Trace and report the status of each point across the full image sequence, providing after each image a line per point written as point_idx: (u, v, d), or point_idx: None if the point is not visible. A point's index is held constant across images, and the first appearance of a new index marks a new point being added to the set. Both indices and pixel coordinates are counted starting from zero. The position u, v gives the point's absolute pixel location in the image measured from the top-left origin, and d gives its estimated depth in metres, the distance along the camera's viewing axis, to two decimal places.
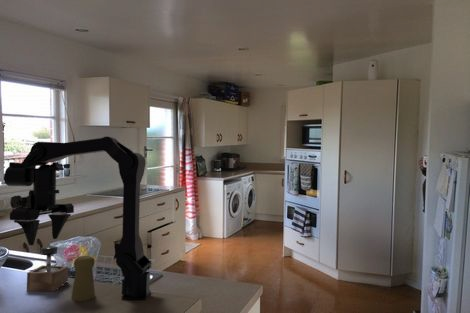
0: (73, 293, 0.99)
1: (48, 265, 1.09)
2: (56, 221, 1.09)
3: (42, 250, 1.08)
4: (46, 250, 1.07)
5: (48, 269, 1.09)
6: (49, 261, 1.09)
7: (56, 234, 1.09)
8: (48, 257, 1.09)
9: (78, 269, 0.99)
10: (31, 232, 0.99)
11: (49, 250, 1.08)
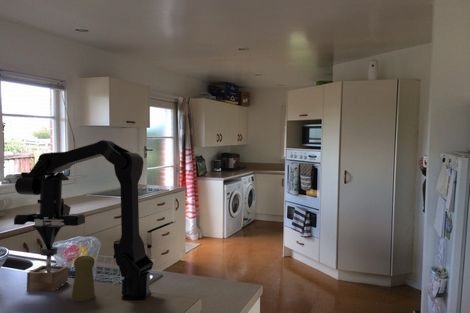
0: (73, 293, 0.99)
1: (48, 266, 1.09)
2: None
3: (42, 251, 1.08)
4: (46, 251, 1.07)
5: (48, 270, 1.09)
6: (49, 262, 1.09)
7: None
8: (48, 258, 1.09)
9: (78, 269, 0.99)
10: None
11: (49, 251, 1.08)
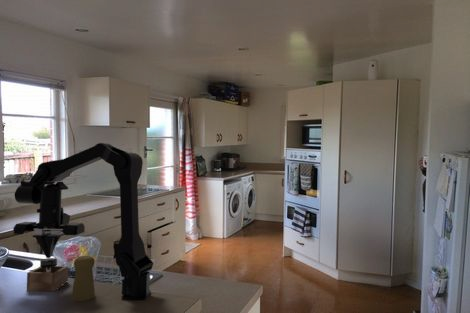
0: (73, 293, 0.99)
1: None
2: None
3: (42, 262, 1.07)
4: (46, 262, 1.07)
5: None
6: None
7: None
8: (48, 269, 1.09)
9: (78, 269, 0.99)
10: None
11: (49, 262, 1.07)
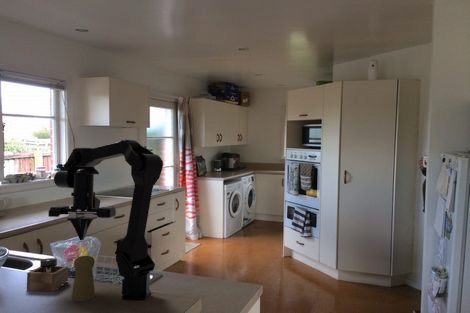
0: (73, 293, 0.99)
1: None
2: None
3: (42, 262, 1.07)
4: (46, 262, 1.07)
5: None
6: None
7: None
8: (48, 269, 1.09)
9: (78, 269, 0.99)
10: None
11: (49, 262, 1.07)
